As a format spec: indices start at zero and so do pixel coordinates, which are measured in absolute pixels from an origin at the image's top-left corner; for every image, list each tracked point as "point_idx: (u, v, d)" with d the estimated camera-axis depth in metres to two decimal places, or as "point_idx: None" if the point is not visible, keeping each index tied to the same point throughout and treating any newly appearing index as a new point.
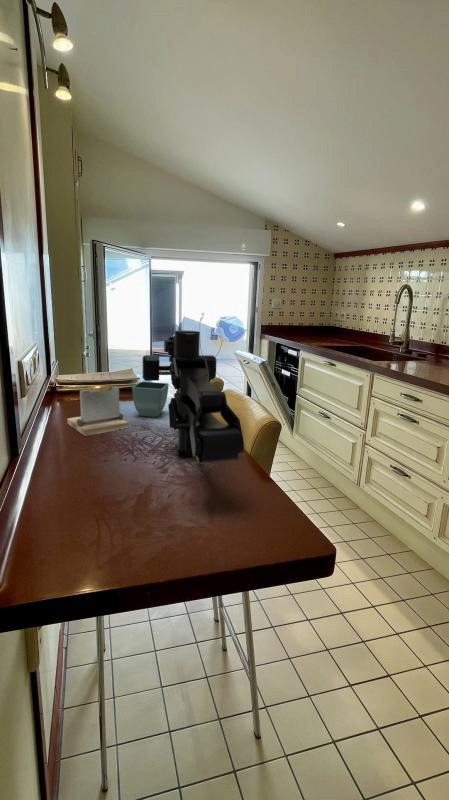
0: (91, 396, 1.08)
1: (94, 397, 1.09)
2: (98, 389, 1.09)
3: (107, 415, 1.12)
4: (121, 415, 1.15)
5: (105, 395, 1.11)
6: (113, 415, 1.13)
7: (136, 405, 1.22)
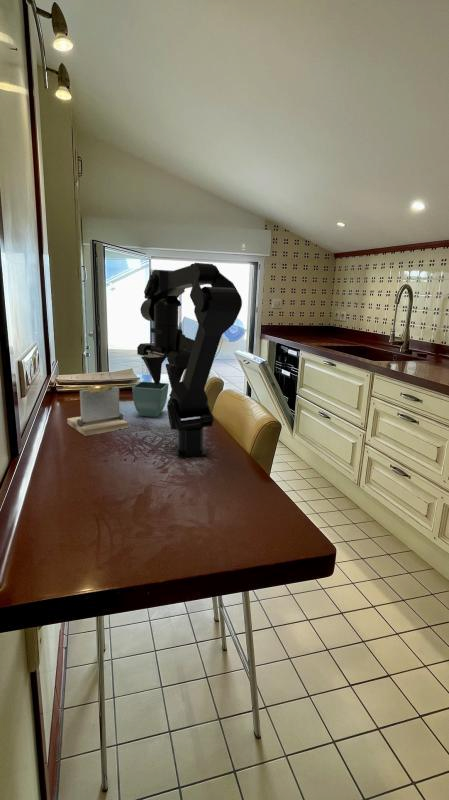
0: (91, 396, 1.08)
1: (94, 397, 1.09)
2: (98, 389, 1.09)
3: (107, 415, 1.12)
4: (121, 415, 1.15)
5: (105, 395, 1.11)
6: (113, 415, 1.13)
7: (136, 405, 1.22)
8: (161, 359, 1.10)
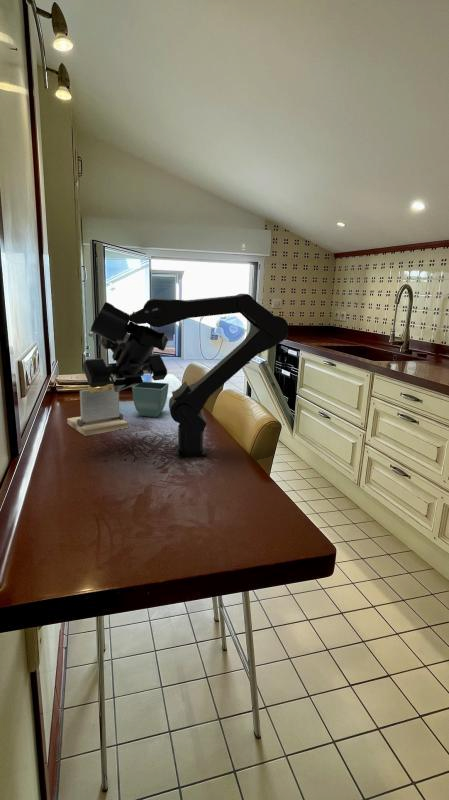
0: (91, 396, 1.08)
1: (94, 397, 1.09)
2: (98, 389, 1.09)
3: (107, 415, 1.12)
4: (121, 415, 1.15)
5: (105, 395, 1.11)
6: (113, 415, 1.13)
7: (136, 405, 1.22)
8: None
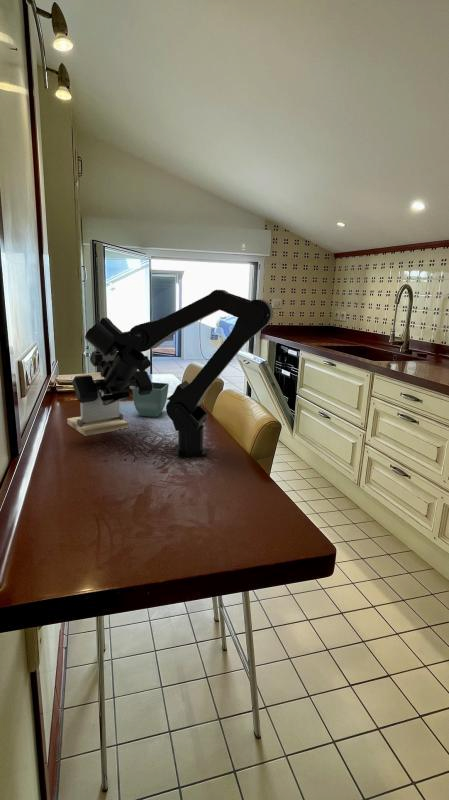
0: None
1: None
2: None
3: (107, 415, 1.12)
4: (121, 415, 1.15)
5: None
6: (113, 415, 1.13)
7: (136, 405, 1.22)
8: None
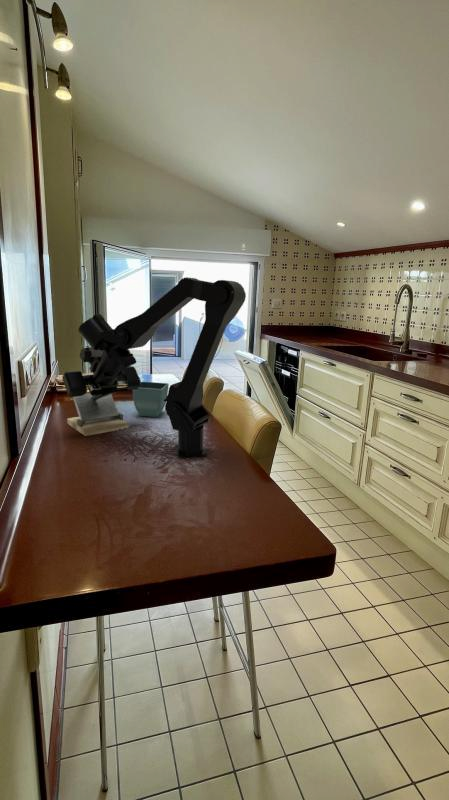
0: (84, 397, 1.12)
1: (87, 398, 1.12)
2: None
3: (106, 414, 1.13)
4: (121, 415, 1.15)
5: None
6: (112, 414, 1.14)
7: (136, 405, 1.22)
8: None
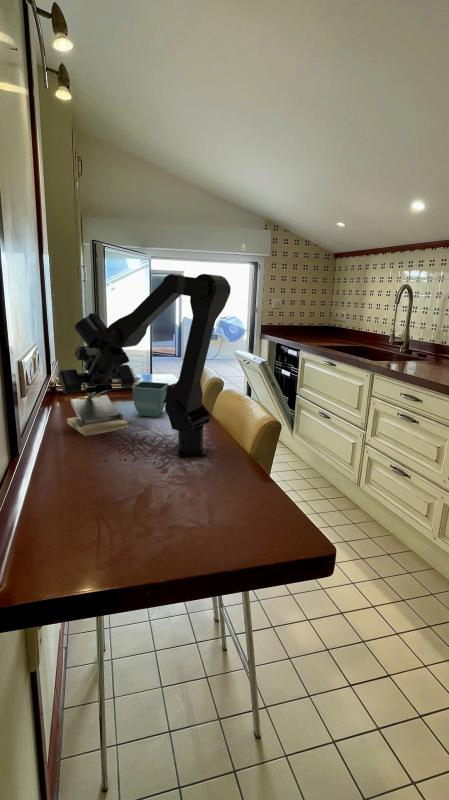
0: (82, 402, 1.14)
1: (85, 402, 1.14)
2: (87, 396, 1.15)
3: (105, 414, 1.13)
4: (121, 415, 1.15)
5: (96, 400, 1.16)
6: (111, 414, 1.14)
7: (136, 405, 1.22)
8: None
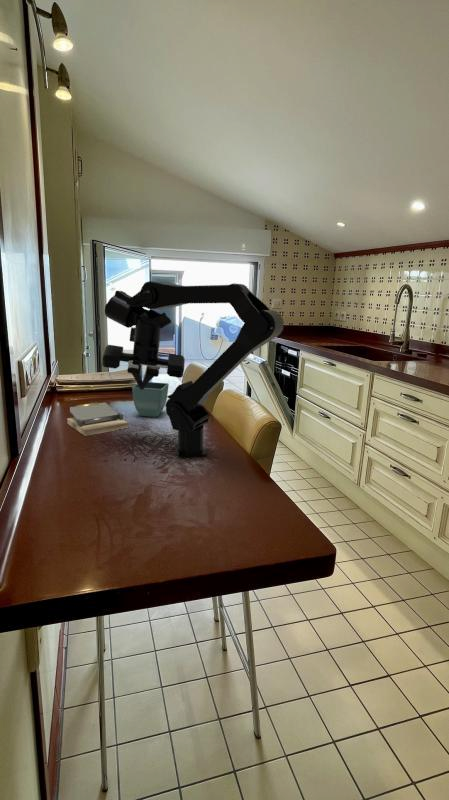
0: (81, 408, 1.15)
1: (84, 408, 1.15)
2: (85, 404, 1.17)
3: (105, 415, 1.14)
4: (121, 415, 1.15)
5: (95, 406, 1.17)
6: (111, 414, 1.14)
7: (136, 405, 1.22)
8: (141, 364, 1.04)
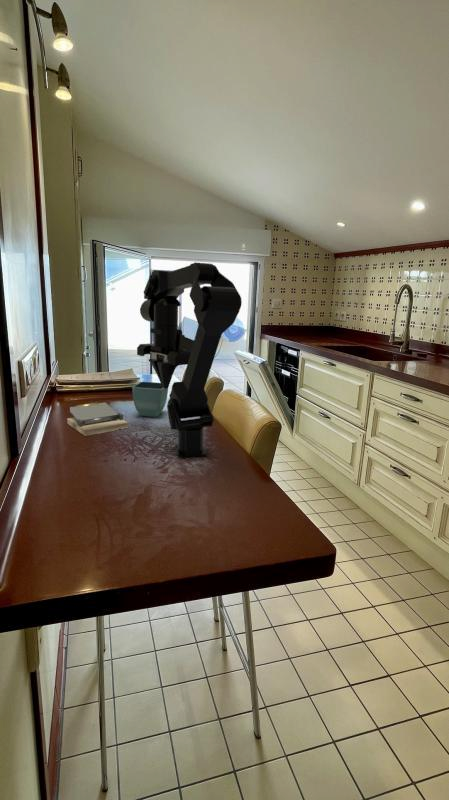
0: (81, 408, 1.15)
1: (84, 408, 1.15)
2: (85, 404, 1.17)
3: (105, 415, 1.14)
4: (121, 415, 1.15)
5: (95, 406, 1.17)
6: (111, 414, 1.14)
7: (136, 405, 1.22)
8: None
